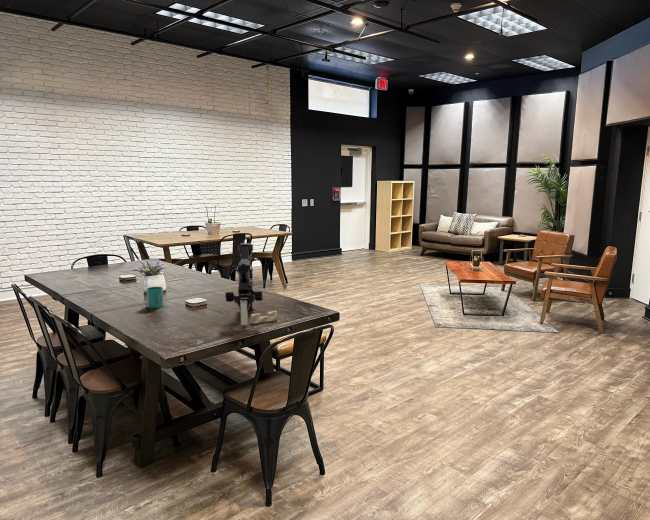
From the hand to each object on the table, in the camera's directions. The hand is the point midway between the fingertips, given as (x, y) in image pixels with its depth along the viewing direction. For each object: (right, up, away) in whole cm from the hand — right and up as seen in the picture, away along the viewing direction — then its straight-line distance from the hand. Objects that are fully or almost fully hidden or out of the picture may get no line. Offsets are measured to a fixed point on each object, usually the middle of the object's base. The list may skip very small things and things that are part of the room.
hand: (244, 310), depth 244 cm
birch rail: (+9, -7, +11) cm, 16 cm away
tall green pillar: (0, -6, +1) cm, 7 cm away
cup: (-59, -2, +41) cm, 72 cm away
